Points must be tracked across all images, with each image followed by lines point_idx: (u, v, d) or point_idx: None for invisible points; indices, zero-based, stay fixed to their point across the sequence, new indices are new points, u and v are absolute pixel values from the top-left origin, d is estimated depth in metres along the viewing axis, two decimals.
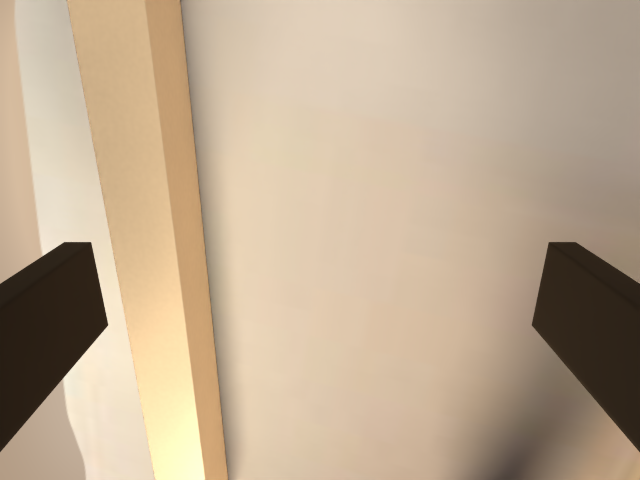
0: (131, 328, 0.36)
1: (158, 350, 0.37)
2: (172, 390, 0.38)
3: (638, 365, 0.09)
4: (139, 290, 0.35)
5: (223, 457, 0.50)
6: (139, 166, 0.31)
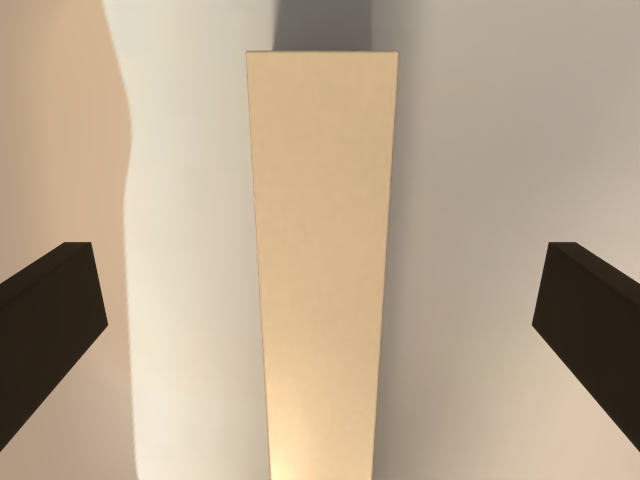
0: None
1: None
2: None
3: (638, 365, 0.09)
4: None
5: None
6: (334, 459, 0.20)
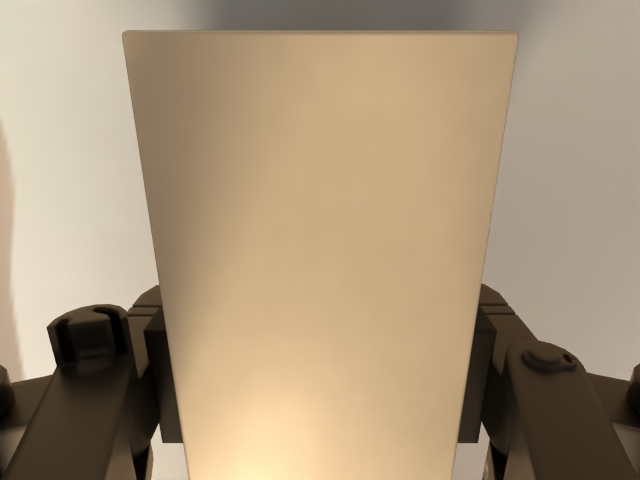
0: None
1: None
2: None
3: None
4: None
5: None
6: None
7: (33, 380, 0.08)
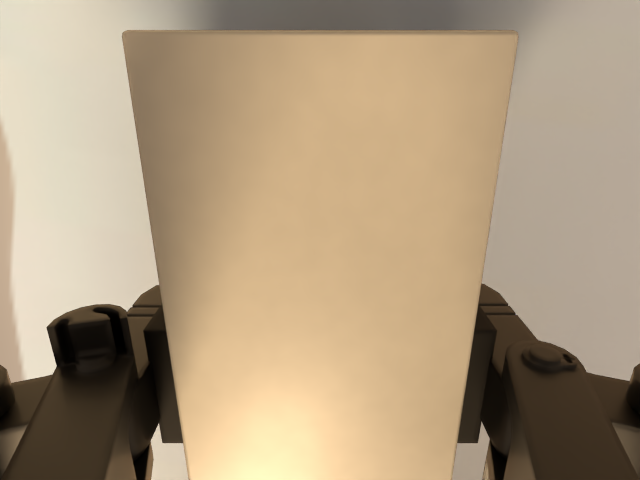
0: None
1: None
2: None
3: None
4: None
5: None
6: None
7: (33, 380, 0.08)
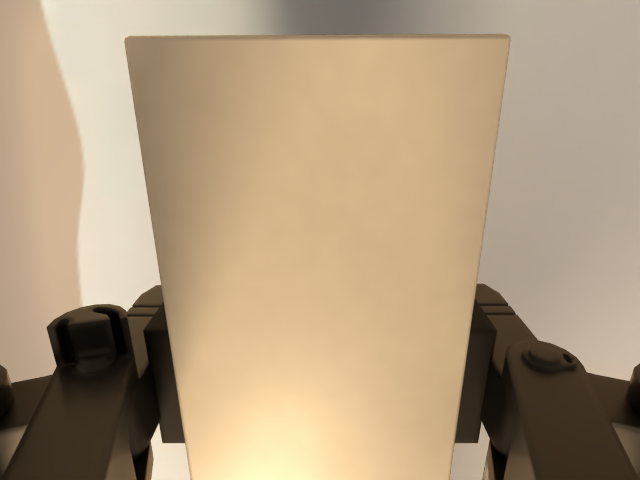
0: None
1: None
2: None
3: None
4: None
5: None
6: None
7: (33, 380, 0.08)
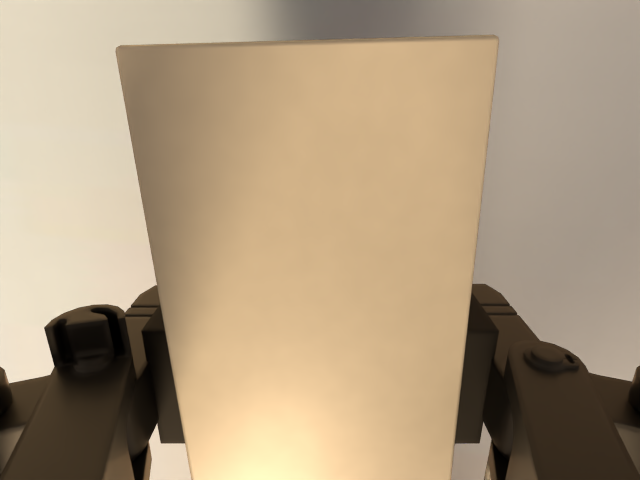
0: None
1: None
2: None
3: None
4: None
5: None
6: None
7: (31, 380, 0.08)
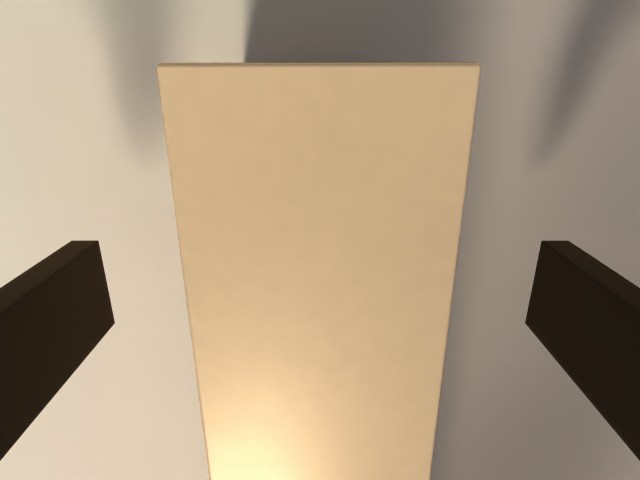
0: None
1: None
2: None
3: (627, 361, 0.09)
4: None
5: None
6: None
7: None
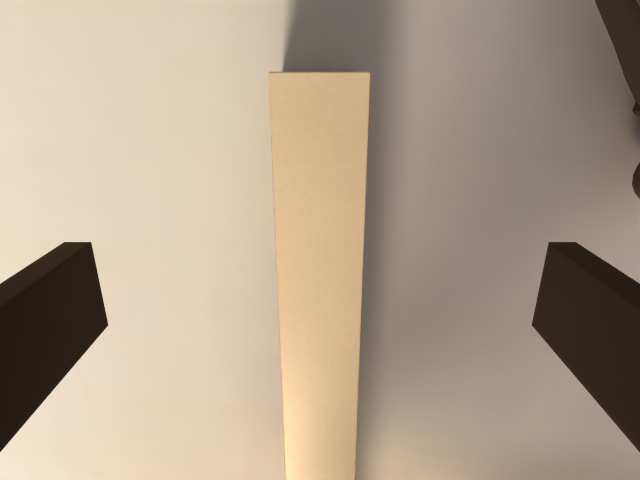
0: None
1: None
2: None
3: (638, 365, 0.09)
4: None
5: None
6: (329, 372, 0.27)
7: None
